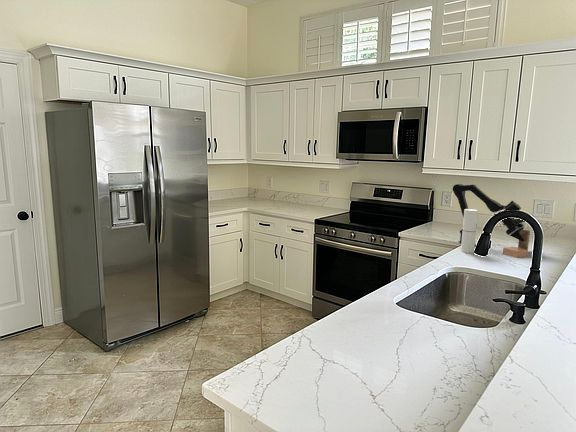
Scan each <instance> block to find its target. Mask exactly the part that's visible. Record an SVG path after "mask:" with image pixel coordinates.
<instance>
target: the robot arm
mask: <svg viewBox="0 0 576 432" xmlns="http://www.w3.org/2000/svg"><path fill="white" fill-rule="evenodd" d="M452 191H453V194H454V195H455V196H456V198H457V201H458V204H459V207H460V210H461V214H462V218H463V219H464V209H469V206H468V202H467V199H466V192H468V191H469V192H471V193H473V194H474V196H476V197H477V198H479V200H480V201H482V202H483V203H484V205H486V207H487V209H488V210H489V211H490V212H491V213H494V214H493V216H494V215H496V214H497V213H500V212H503V211H507V210H518V212H519V211H520V210H521V209H522V207H521V206H520V205H519V204H518V203H517V202H515V201H514V200H511V201H510V202H509V203H507V205H503V204H501V203H500V202H498V201H497V200H494V199H492V198H491V197H490V196H488V195H487V194H486V193H485V192H483V190H481V189H480V188H478V186H477V185H476V184H474V183H473V184H466V185H464V184H462V183H458V184H454V185H452ZM502 210H503V211H502ZM501 223H502V225H503V226H505V227H506V228H507V230H505V234H507V236H509V237H512V238H514V239H516V240H518V241H519V240H520V241H524V239H523V238H522V236H521V235H520V230H525V225H524V223H526V222H525V221H523V220H520V219H517V218H514V217H512V218H507V219H504V220H502V221H501ZM477 224H478V223H477ZM477 224H476V227H477ZM462 231H463V228H462V229H460V230H459V233H460V237H459V240H458V243H460V244H461V243H462Z"/></svg>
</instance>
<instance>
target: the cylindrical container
mask: <svg viewBox="0 0 576 432" xmlns="http://www.w3.org/2000/svg"><path fill="white" fill-rule="evenodd" d="M477 220H478V209H474V208H473V209H471V208H468V209H464V218H463V219H462V222H463V223H462V229H463V231H462V243H460V244H461V247H460V251H461V252H462V253H466V254H474V253H475V246H476V245H475V243H476V232H477V226H476V224H478V223H477V222H478V221H477ZM473 252H474V253H473Z"/></svg>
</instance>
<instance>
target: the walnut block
mask: <svg viewBox="0 0 576 432" xmlns="http://www.w3.org/2000/svg"><path fill="white" fill-rule="evenodd" d="M520 235H521V236H522V238H523V239H524V241H520V240H518V245H517V248H522V249H526V250H528V251H529V243H530V235H531V230H530V229H529V230H528V229H527V230H526V229H524V230H520Z"/></svg>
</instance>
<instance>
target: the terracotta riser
mask: <svg viewBox="0 0 576 432" xmlns="http://www.w3.org/2000/svg"><path fill="white" fill-rule="evenodd" d="M528 254H529V249H528V250H526V249H522V248H518V246H517V247H516V246H507V247H503V248H502V255H505V256H509V257H514V258H517V259H518V258H521V257H522V258H525V257H528Z"/></svg>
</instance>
